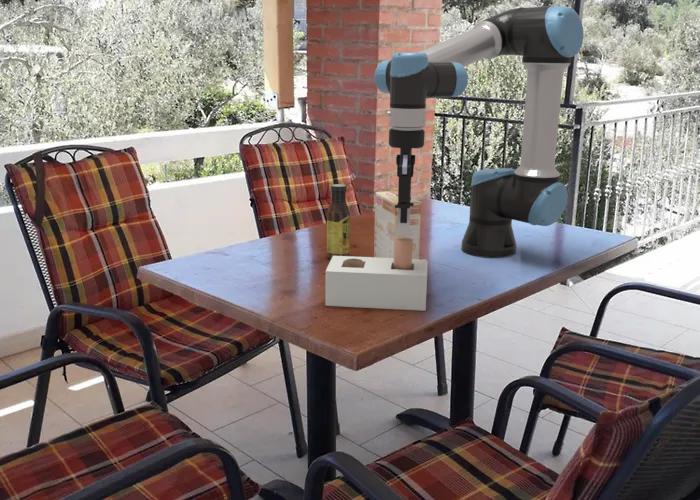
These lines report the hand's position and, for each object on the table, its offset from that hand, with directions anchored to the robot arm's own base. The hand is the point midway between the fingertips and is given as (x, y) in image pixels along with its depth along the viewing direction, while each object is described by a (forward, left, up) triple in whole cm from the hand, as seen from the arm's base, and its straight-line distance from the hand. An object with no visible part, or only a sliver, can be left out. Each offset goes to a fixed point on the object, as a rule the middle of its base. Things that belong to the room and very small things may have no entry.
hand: (403, 236), depth 156 cm
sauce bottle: (+18, -31, -15) cm, 39 cm away
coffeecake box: (+2, -21, -15) cm, 26 cm away
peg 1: (+11, 0, -15) cm, 18 cm away
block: (+5, 0, -15) cm, 16 cm away
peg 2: (0, 0, -9) cm, 9 cm away
